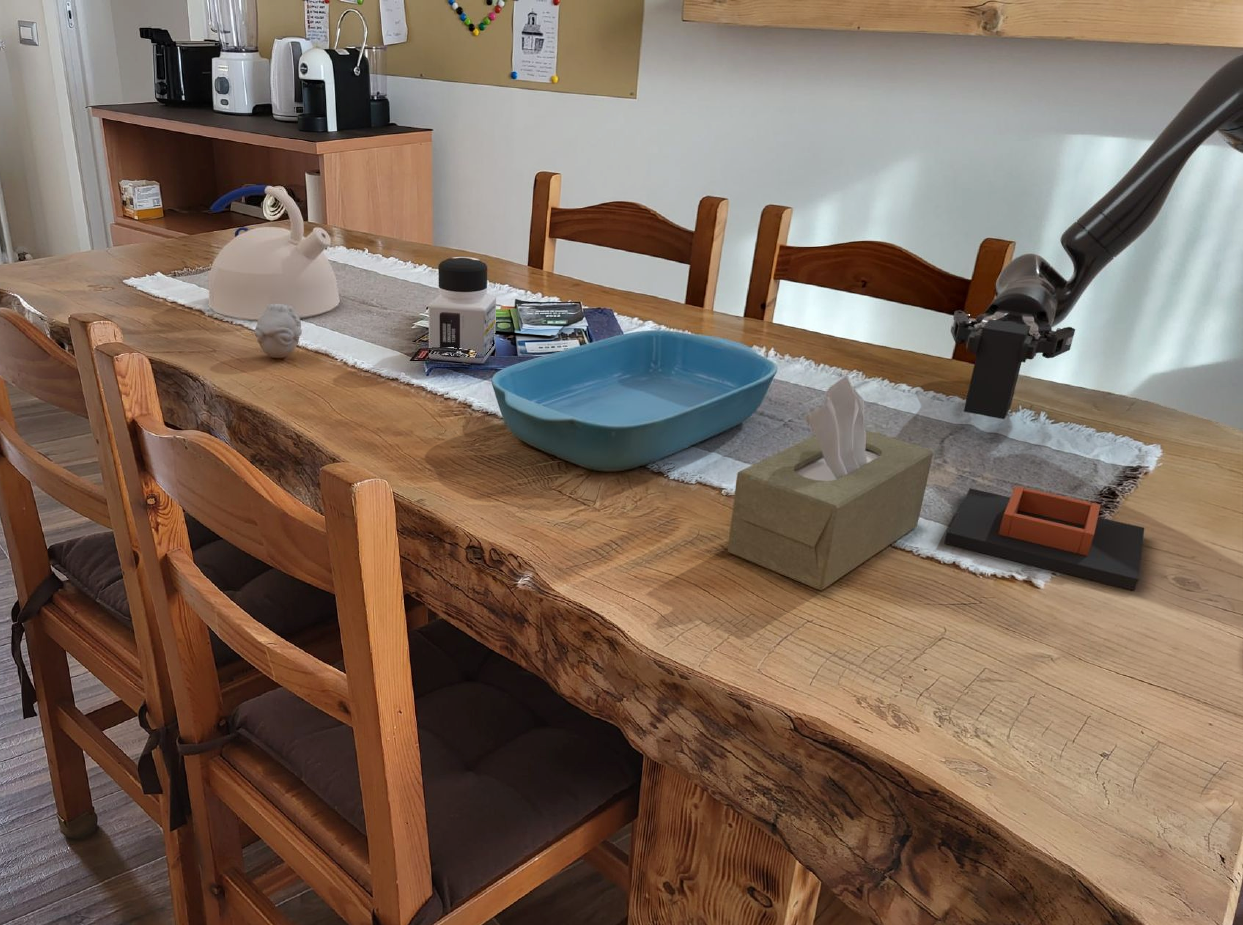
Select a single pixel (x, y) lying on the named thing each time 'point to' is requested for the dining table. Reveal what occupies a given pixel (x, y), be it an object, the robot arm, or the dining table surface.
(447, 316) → the container
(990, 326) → the black rectangular block
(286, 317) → the grey rounded lump
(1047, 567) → the base mat
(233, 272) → the kettle
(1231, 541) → the dining table surface
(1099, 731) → the dining table surface
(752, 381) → the casserole dish
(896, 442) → the tissue box
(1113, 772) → the dining table surface
